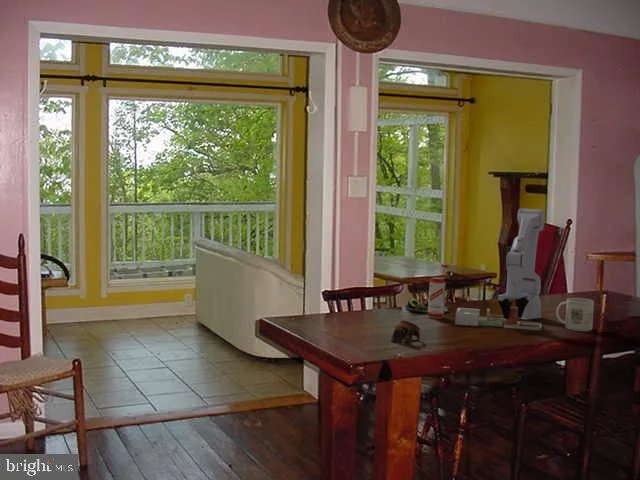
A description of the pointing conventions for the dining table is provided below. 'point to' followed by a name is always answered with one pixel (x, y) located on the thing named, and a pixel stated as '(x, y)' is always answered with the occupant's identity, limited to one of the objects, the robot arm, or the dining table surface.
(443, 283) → the beer can
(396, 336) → the brown animal figurine
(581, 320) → the mug
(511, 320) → the carriage
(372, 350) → the dining table surface
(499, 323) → the track
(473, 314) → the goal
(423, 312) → the salad plate
